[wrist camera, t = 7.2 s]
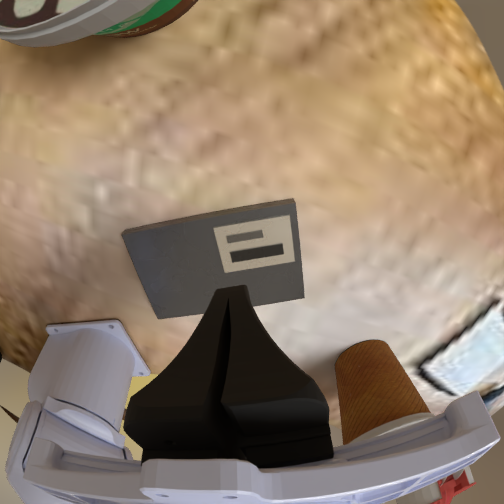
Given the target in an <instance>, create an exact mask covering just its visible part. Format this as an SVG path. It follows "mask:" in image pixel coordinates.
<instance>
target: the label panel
mask: <svg viewBox="0 0 504 504" xmlns="http://www.w3.org/2000/svg"><path fill="white" fill-rule="evenodd" d="M122 237H123V239H124V242H125V244H126V247H127V249H128V252H129V254H130V257H131V259H132V262H133V264H134V266H135V269H136V271H137V273H138V276H139V278H140V280H141V283H142V285H143V287H144V290H145V292H146V294H147V296H148V298H149V301H150V303H151V305H152V307H153V309H154V311H155V314H156V316H157V318H158V319H165V318H173V317H181V316H189V315H197V314H204V313H205V311H206V310H207V307H208V305H209V303H210V301H211V299H212V297H213V295H214V292H215V291H216V289H220V288H226V287H232V286H238V285H246V286H247V287H248V291H249V296H250V300H251V304H252V306H260V305H266V304H272V303H278V302H284V301H290V300H296V299H302V298H305V297H304V284H303V272H302V261H301V250H300V240H299V230H298V221H297V211H296V203H295V201H294V199H287V200H281V201H274V202H268V203H262V204H256V205H250V206H244V207H239V208H233V209H227V210H222V211H216V212H211V213H206V214H200V215H195V216H190V217H185V218H180V219H175V220H170V221H165V222H160V223H155V224H150V225H145V226H141V227H136V228H131V229H127V230H125V231H124V233H123V234H122Z"/></svg>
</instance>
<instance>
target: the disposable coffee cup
mask: <svg viewBox="0 0 504 504" xmlns="http://www.w3.org/2000/svg"><path fill="white" fill-rule="evenodd" d="M335 372H336V379H337V388H338V397H339V406H340V416H341V425H342V436H343V445H346V444H350V443H354V442H358V441H362V440H366V439H369V438H373V437H376V436H380V435H383V434H386V433H390V432H393V431H396V430H399V429H402V428H405V427H408V426H410V425H413V424H416V423H419V422H421V421H424V420H427V419H429V418H432V417H434V414H432V413H431V412H430V411H429V409H428V407H427V406H426V404H425V402H424V401H423V399H422V397H421V396H420V394H419V392H418V391H417V389H416V388H415V386H414V385H413V383H412V381H411V380H410V378H409V377H408V375H407V373H406V372H405V370H404V369H403V367H402V366H401V364H400V362H399V361H398V360H397V358H396V356H395V355H394V353H393V352H392V350H391V349H390V347H389V345H388V344H387V343H386V342H384V341H380V340H369V341H364V342H361V343H358V344H356V345H354V346H352V347H350V348H349V349H347V350H346V351H345V352H343V353H342V354H341V355H340V356H339V358H338V359H337V361H336V363H335Z"/></svg>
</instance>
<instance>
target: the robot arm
mask: <svg viewBox="0 0 504 504" xmlns="http://www.w3.org/2000/svg"><path fill="white" fill-rule="evenodd" d="M112 325H113V326H112ZM46 331H47V332H48V334H49V337H48V339H47V341H46V343H45V345H44V347H43V349H42V351H41V353H40V355H39V357H38V359H37V361H36V363H35V365H34V367H33V369H32V371H31V373H30V376H29V380H28V395H29V399H30V402H28V403H27V404H26V406H25V408H24V410H23V412H22V415H21V417H20V419H19V421H18V424H17V427H16V429H15V432H14V435H13V438H12V441H11V444H10V448H9V453H8V454H9V455H8V458H7V461H6V466H5V471H6V473H7V480H8V481H9V483H10V485H11V486H12V487H13V489H14V490H15V492H16V493H17V494H18V496H19V497H20V499H21V500H22V501H23V503H24V504H382V503H385V502H387V501H390V500H393V499H396V498H398V497H401V496H403V495H406V494H408V493H411V492H413V491H416V490H418V489H420V488H423V487H425V486H427V485H429V484H432V483H434V482H436V481H438V480H440V479H442V478H444V477H447V476H449V475H451V474H453V473H455V472H457V471H459V470H461V469H463V468H465V467H466V466H468V465H470V464H472V463H474V462H475V461H476V460H477V459H479V458H480V457H481V456H482V455H483V454H484V453H486V452H487V451H488V450H489V449H490V448H492V447H493V446H494V445H495V444H496V443H497V442H498V441H499V440H500V436H499V434H498V431H497V430H496V427H495V425H494V423H493V421H492V418H491V416H490V414H489V412H488V410H487V408H486V406H485V404H484V402H483V400H482V398H481V396H480V394H479V392H478V391H473V392H471V393H469V394H467V395H465V396H463V397H461V398H458V399H456V400H454V401H453V402H451V403H450V404H449V405H448V406H447V408H446V410H445V412H444V413H442V414H439V415H437V416H434V417H432V418H429V419H427V420H424V421H421V422H419V423H416V424H413V425H410V426H408V427H405V428H402V429H399V430H396V431H393V432H390V433H386V434H383V435H380V436H376V437H373V438H369V439H366V440H362V441H358V442H354V443H350V444H346V445H342V446H338V447H333V445H332V440H331V436H330V434H331V432H330V427H329V406H328V404H327V401H326V399H325V397H324V395H323V393H322V392H321V390H320V389H319V387H318V386H317V384H316V383H315V381H314V380H313V379H312V378H311V377H310V376H309V375H307V374H306V373H305V372H304V371H302V370H301V369H300V368H299V367H298V366H297V365H296V364H294V363H293V362H292V361H291V360H290V359H289V358H288V357H287V355H286V354H285V353H284V352H283V351H282V350H281V349H280V348H279V347H278V346H277V344H276V343H275V342H274V341H273V339H272V338H271V337H270V335H269V334H268V332H267V331H266V330H265V328H264V326H263V325H262V323H261V322H260V320H259V318H258V316H257V314H256V312H255V310H254V308H253V306H252V304H251V300H250V296H249V291H248V287H247V286H246V285H238V286H232V287H226V288H220V289H216V291H215V292H214V295H213V297H212V299H211V301H210V303H209V305H208V307H207V310H206V311H205V313H204V315H203V317H202V319H201V321H200V323H199V324H198V326H197V328H196V329H195V331H194V332H193V334H192V336H191V337H190V339H189V340H188V342H187V343H186V344H185V346H184V347H183V348H182V350H181V351H180V352H179V354H178V355H177V356H176V357H175V358H174V359H173V361H172V362H171V363H170V364H169V365H168V366H167V367H166V368H165V369H164V370H163V371H162V372H161V373H160V374H159V375H158V376H157V377H156V378H155V379H153V380H152V381H151V382H150V383H149V384H148V385H146V386H145V387H144V388H143V389H141V390H140V391H138V392H137V393H136V394H134V395H133V396H131V398H130V401H129V404H128V407H127V411H126V416H125V421H124V426H123V428H124V431H125V432H126V434H127V435H128V436H129V437H130V438H131V439H132V440H134V441H135V442H136V443H137V444H138V445H139V446H140V447H142V448H143V453H142V460H141V461H137V460H133V457H132V454H131V452H130V450H129V449H128V448H127V447H125V446H124V441H125V436H123V435H121V434H120V433H119V431H120V426H121V422H122V417H123V413H124V408H125V403H126V400H127V395H128V391H129V387H130V383H131V379H132V376H149V375H150V370H149V368H148V367H147V365H146V363H145V362H144V360H143V359H142V357H141V356H140V354H139V352H138V351H137V349H136V347H135V346H134V344H133V342H132V341H131V339H130V337H129V336H128V334H127V332H126V330H125V329H124V327H123V325H122V323H121V322H120V321H118V320H105V321H94V322H83V323H70V324H57V325H47V327H46Z"/></svg>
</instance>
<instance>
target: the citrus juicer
mask: <svg viewBox="0 0 504 504" xmlns="http://www.w3.org/2000/svg"><path fill="white" fill-rule="evenodd" d="M474 484H476V483H475V482H474V480H473V477H472V474H471V471H470V468H469V465H468V466H466V467H465V468H463V469H461V470H459V471H457V472H455V473H453V474H451V475H449V476H447V477H444V478H442V479H440V480H438V481H436V482H434V483H432V484H429V485H427V486H425V487H423V488H420V489H418V490H416V491H413V492H411V493H408V494H406V495H403V496H401V497H398V498H396V502H397V504H450V502H451V500H452V498H453V496H455V495H457V494H459V493H461V492H462V491H465V490H466V489H468V488H470V487H471V486H473V485H474Z"/></svg>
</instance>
